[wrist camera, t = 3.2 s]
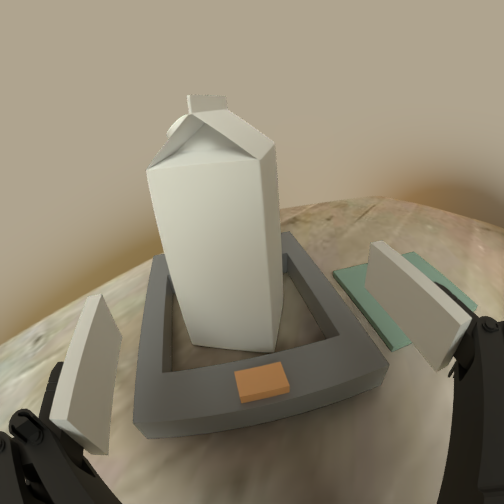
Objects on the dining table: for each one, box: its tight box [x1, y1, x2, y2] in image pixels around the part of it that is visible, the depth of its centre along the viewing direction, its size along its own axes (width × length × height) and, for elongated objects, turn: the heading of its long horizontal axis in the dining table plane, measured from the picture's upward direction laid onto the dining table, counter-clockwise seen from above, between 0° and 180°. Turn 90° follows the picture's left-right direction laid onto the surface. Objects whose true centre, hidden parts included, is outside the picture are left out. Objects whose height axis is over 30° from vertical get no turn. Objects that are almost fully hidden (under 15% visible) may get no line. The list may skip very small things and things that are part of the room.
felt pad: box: [333, 252, 478, 352], centre depth 26 cm, size 12×12×1 cm
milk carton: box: [146, 95, 284, 353], centre depth 21 cm, size 7×7×19 cm
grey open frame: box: [133, 231, 389, 439], centre depth 24 cm, size 17×22×7 cm
